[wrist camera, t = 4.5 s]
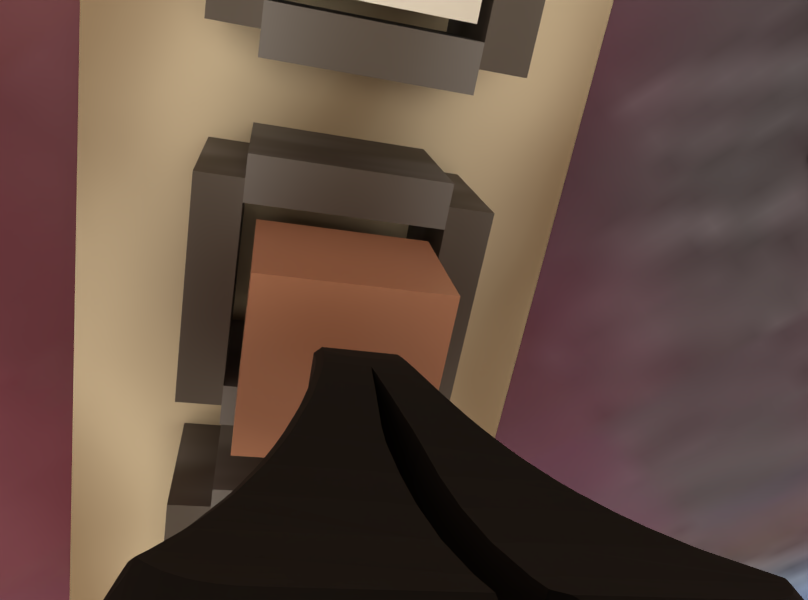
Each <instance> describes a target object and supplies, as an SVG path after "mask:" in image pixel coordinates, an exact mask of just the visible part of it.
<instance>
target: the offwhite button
mask: <svg viewBox="0 0 808 600" xmlns="http://www.w3.org/2000/svg"><path fill="white" fill-rule="evenodd" d="M359 1H364V2H369V3H374V4H379V5H384V6H389V7H394V8H399V9H404V10H409V11H414V12H419V13H424V14H429V15H434V16H439V17H444V18H449V19H454V20H459V21H464V22H469V23H474V24H477V22H478V17H479V12H480V8H481V3H482V0H359Z"/></svg>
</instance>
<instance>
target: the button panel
mask: <svg viewBox="0 0 808 600" xmlns="http://www.w3.org/2000/svg"><path fill="white" fill-rule="evenodd" d="M613 1H614V0H482V3H481V8H480V12H479V17H478V22H477V24H474V23H469V22H464V21H459V20H454V19H449V18H444V17H439V16H434V15H429V14H424V13H419V12H414V11H409V10H404V9H399V8H394V7H389V6H384V5H379V4H374V3H369V2H364V1H359V0H80V34H79V91H78V149H77V207H76V265H75V322H74V380H73V438H72V495H71V553H70V600H103V599H104V598H105V596H106V595H107V593H108V592H109V590H110V588H111V587H112V585H113V584H114V582H115V581H116V579H117V577H118V576H119V574H120V573H121V571H122V570H123V568H124V567H125V565H126V564H127V562H128V561H129V560H131V559H132V558H134V557H135V556H137V555H139V554H141V553H143V552H145V551H147V550H149V549H151V548H152V547H154V546H156V545H158V544H159V543H161V542H163V541H165V540H166V539H168V538H170V537H172V536H173V535H175V534H177V533H179V532H180V531H182V530H183V529H185V528H186V527H188V526H189V525H191V524H192V523H193V522H195V521H196V520H197V519H198V518H200V517H201V516H202V515H204V514H205V513H206V512H207V511H209V510H210V509H211V508H212V507H214V506H215V505H216V504H218V503H219V502H220V501H221V500H223V499H224V498H225V497H226V496H227V495H229V494H230V493H231V492H232V491H233V490H234V489H235V488H236V487H237V486H238V485H239V484H240V483H241V482H242V481H243V480H244V479H245V478H246V477H247V476H248V475H249V474H250V473H251V472H252V471H253V470H254V469H255V468H256V467H257V466H258V465H259V463H260V462H261V461H262V460H263V459H264V458H262V457H246V456H230V455H231V446H232V436H233V426H234V416H235V406H236V396H237V386H238V376H239V367H240V359H241V350H242V341H243V332H244V323H245V314H246V306H247V297H248V288H249V279H250V270H251V261H252V252H253V244H254V235H255V226H256V219H260V220H267V221H275V222H283V223H291V224H298V225H306V226H314V227H321V228H329V229H337V230H344V231H352V232H360V233H368V234H375V235H383V236H391V237H398V238H406V239H414V240H421V241H428V242H429V244H430V245H431V247H432V249H433V250H434V252H435V254H436V256H437V257H438V259H439V261H440V262H441V264H442V266H443V267H444V269H445V271H446V273H447V274H448V276H449V278H450V279H451V281H452V283H453V285H454V286H455V288H456V290H457V291H458V293H459V295H460V301H459V305H458V309H457V314H456V318H455V322H454V327H453V331H452V335H451V340H450V344H449V348H448V353H447V357H446V361H445V366H444V370H443V374H442V379H441V383H440V387H439V391H440V392H441V393H442V394H443V395H444V396H445V397H446V398H447V399H448V400H449V401H451V402H452V403H453V404H454V405H455V406H456V407H457V408H458V409H460V410H461V411H462V412H463V413H464V414H465V415H467V416H468V417H469V418H470V419H471V420H473V421H474V422H475V423H476V424H477V425H479V426H480V427H481V428H482V429H484V430H485V431H486V432H487V433H489V434H490V435H491V436H493V437H494V438H495V435H496V432H497V428H498V424H499V421H500V417H501V413H502V410H503V406H504V402H505V399H506V395H507V391H508V387H509V384H510V380H511V376H512V373H513V369H514V365H515V362H516V358H517V354H518V351H519V347H520V343H521V340H522V336H523V332H524V329H525V325H526V321H527V317H528V314H529V310H530V306H531V303H532V299H533V295H534V292H535V288H536V284H537V281H538V277H539V273H540V270H541V266H542V262H543V259H544V255H545V251H546V247H547V244H548V240H549V236H550V233H551V229H552V225H553V222H554V218H555V214H556V211H557V207H558V203H559V200H560V196H561V192H562V189H563V185H564V181H565V177H566V174H567V170H568V166H569V163H570V159H571V155H572V152H573V148H574V144H575V141H576V137H577V133H578V130H579V126H580V122H581V119H582V115H583V111H584V107H585V104H586V100H587V96H588V93H589V89H590V85H591V82H592V78H593V74H594V71H595V67H596V63H597V60H598V56H599V52H600V49H601V45H602V41H603V37H604V34H605V30H606V26H607V23H608V19H609V15H610V12H611V8H612V4H613Z"/></svg>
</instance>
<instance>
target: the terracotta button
mask: <svg viewBox="0 0 808 600" xmlns="http://www.w3.org/2000/svg"><path fill="white" fill-rule="evenodd" d="M459 301H460V295H459V293H458V291H457V290H456V288H455V286H454V285H453V283H452V281H451V279H450V278H449V276H448V274H447V273H446V271H445V269H444V267H443V266H442V264H441V262H440V261H439V259H438V257H437V256H436V254H435V252H434V250H433V249H432V247H431V245H430V244H429V242H428V241H421V240H414V239H406V238H398V237H391V236H383V235H375V234H368V233H360V232H352V231H344V230H337V229H329V228H321V227H314V226H306V225H298V224H291V223H283V222H275V221H267V220H260V219H256V226H255V235H254V244H253V252H252V261H251V270H250V279H249V288H248V297H247V306H246V314H245V323H244V332H243V341H242V350H241V359H240V367H239V376H238V386H237V396H236V406H235V416H234V426H233V436H232V446H231V455H230V456H246V457H262V458H264V457H265V456H266V455H267V454H268V453H269V451H270V450H271V449H272V448H273V446H274V445H275V444H276V442H277V441H278V440H279V438H280V437H281V435H282V434H283V433H284V431H285V429H286V428H287V426H288V425H289V423H290V421H291V420H292V418H293V416H294V415H295V413H296V411H297V410H298V408H299V406H300V404H301V402H302V400H303V398H304V396H305V393H306V391H307V389H308V385H309V379H310V373H311V366H312V360H313V354H314V352H316V351H317V350H318V349H320V348H321V347H328V348H338V349H348V350H358V351H368V352H378V353H388V354H397V355H399V356H401V357H402V358H403V359H404V360H406V361H407V362H408V363H409V364H410V365H411V366H413V367H414V368H415V369H416V370H417V371H418V372H419V373H420V374H421V375H422V376H423V377H424V378H426V379H427V380H428V381H429V382H430V383H431V384H432V385H433V386H434V387H435V388H436V389H437V390H438V391H439V387H440V383H441V379H442V374H443V370H444V366H445V361H446V357H447V353H448V348H449V344H450V340H451V335H452V331H453V327H454V322H455V318H456V314H457V309H458V305H459Z"/></svg>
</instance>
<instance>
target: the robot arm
mask: <svg viewBox="0 0 808 600" xmlns="http://www.w3.org/2000/svg"><path fill="white" fill-rule="evenodd" d="M103 600H804V599H803V598H802V597H801V596H800V595H799V593H798V592H797V591H796V590H795V589H794V587H793V586H792V585H791V584H790V583H789V582H788V580H786V579H785V578H783V577H780V576H777V575H774V574H771V573H768V572H765V571H762V570H759V569H756V568H753V567H750V566H747V565H744V564H742V563H739V562H736V561H733V560H730V559H727V558H724V557H721V556H718V555H715V554H712V553H709V552H706V551H703V550H701V549H698V548H696V547H693V546H690V545H688V544H686V543H683V542H681V541H678V540H676V539H674V538H671V537H669V536H666V535H664V534H662V533H659V532H657V531H654V530H652V529H650V528H647V527H645V526H643V525H641V524H639V523H637V522H634V521H632V520H630V519H628V518H626V517H624V516H621V515H619V514H617V513H615V512H613V511H611V510H610V509H608V508H606V507H604V506H602V505H600V504H598V503H596V502H594V501H592V500H590V499H589V498H587V497H585V496H583V495H581V494H579V493H577V492H575V491H574V490H572V489H570V488H568V487H567V486H565V485H563V484H561V483H560V482H558V481H556V480H555V479H553V478H552V477H550V476H549V475H547V474H545V473H544V472H542V471H541V470H539V469H538V468H536V467H535V466H533V465H531V464H530V463H528V462H527V461H525V460H524V459H522V458H521V457H519V456H518V455H517V454H515V453H514V452H512V451H511V450H510V449H508V448H507V447H505V446H504V445H503V444H502V443H500V442H499V441H498V440H496V439H495V438H494V437H493V436H491V435H490V434H489V433H487V432H486V431H485V430H484V429H482V428H481V427H480V426H479V425H477V424H476V423H475V422H474V421H473V420H471V419H470V418H469V417H468V416H467V415H465V414H464V413H463V412H462V411H461V410H460V409H458V408H457V407H456V406H455V405H454V404H453V403H452V402H451V401H449V400H448V399H447V398H446V397H445V396H444V395H443V394H442V393H441V392H440V391H438V390H437V389H436V388H435V387H434V386H433V385H432V384H431V383H430V382H429V381H428V380H427V379H426V378H424V377H423V376H422V375H421V374H420V373H419V372H418V371H417V370H416V369H415V368H414V367H413V366H411V365H410V364H409V363H408V362H407V361H406V360H404V359H403V358H402V357H401V356H399V355H397V354H388V353H378V352H368V351H358V350H348V349H338V348H328V347H321V348H320V349H318V350H317V351H316V352H314V354H313V360H312V366H311V373H310V379H309V385H308V389H307V391H306V393H305V396H304V398H303V400H302V402H301V404H300V406H299V408H298V410H297V411H296V413H295V415H294V416H293V418H292V420H291V421H290V423H289V425H288V426H287V428H286V429H285V431H284V433H283V434H282V435H281V437H280V438H279V440H278V441H277V442H276V444H275V445H274V446H273V448H272V449H271V450H270V451H269V453H268V454H267V455H266V456H265V457H264V459H263V460H262V461H261V462H260V463H259V465H258V466H257V467H256V468H255V469H254V470H253V471H252V472H251V473H250V474H249V475H248V476H247V477H246V478H245V479H244V480H243V481H242V482H241V483H240V484H239V485H238V486H237V487H236V488H235V489H234V490H233V491H232V492H231V493H230V494H229V495H227V496H226V497H225V498H224V499H223V500H221V501H220V502H219V503H218V504H216V505H215V506H214V507H212V508H211V509H210V510H209V511H207V512H206V513H205V514H204V515H202V516H201V517H200V518H198V519H197V520H196V521H195V522H193V523H192V524H191V525H189V526H188V527H186V528H185V529H183V530H182V531H180V532H179V533H177V534H175V535H173V536H172V537H170V538H168V539H166V540H165V541H163V542H161V543H159V544H158V545H156V546H154V547H152V548H151V549H149V550H147V551H145V552H143V553H141V554H139V555H137V556H135V557H134V558H132V559H131V560H129V561H128V562H127V564H126V565H125V567H124V568H123V570H122V571H121V573H120V574H119V576H118V577H117V579H116V581H115V582H114V584H113V585H112V587H111V588H110V590H109V592H108V593H107V595H106V596H105V598H104V599H103Z"/></svg>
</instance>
